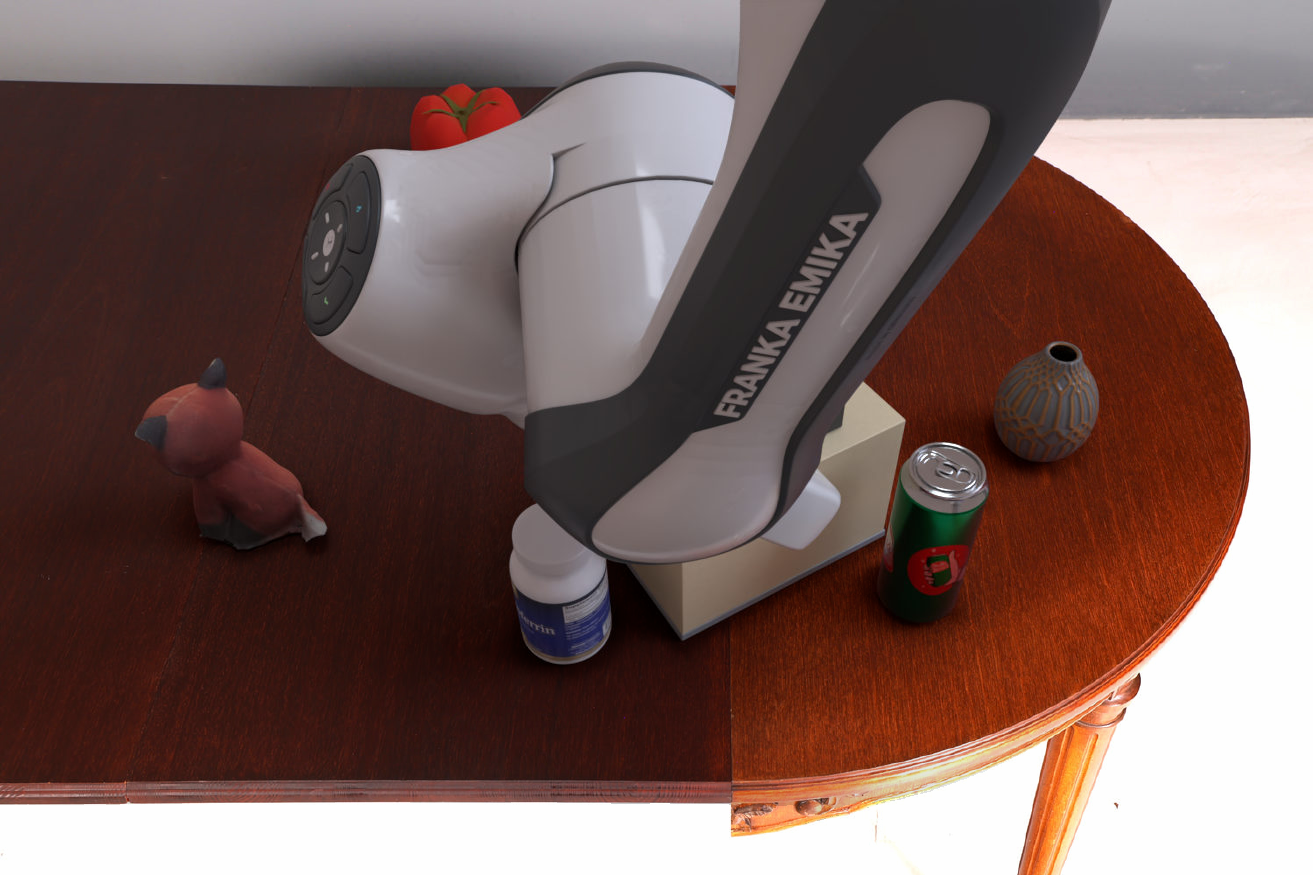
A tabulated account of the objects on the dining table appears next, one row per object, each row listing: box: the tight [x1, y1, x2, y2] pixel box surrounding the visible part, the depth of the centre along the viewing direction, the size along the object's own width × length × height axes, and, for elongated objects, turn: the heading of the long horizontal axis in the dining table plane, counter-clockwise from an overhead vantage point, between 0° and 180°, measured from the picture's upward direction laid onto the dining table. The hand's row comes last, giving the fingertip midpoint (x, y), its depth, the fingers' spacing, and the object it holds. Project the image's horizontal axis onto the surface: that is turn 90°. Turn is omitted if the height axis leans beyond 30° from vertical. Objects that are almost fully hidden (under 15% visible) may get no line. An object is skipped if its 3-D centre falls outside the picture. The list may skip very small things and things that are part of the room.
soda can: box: [876, 441, 990, 624], centre depth 63 cm, size 5×5×12 cm
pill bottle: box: [509, 503, 612, 665], centre depth 63 cm, size 6×6×10 cm
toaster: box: [626, 381, 906, 642], centre depth 68 cm, size 11×16×11 cm
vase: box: [993, 340, 1100, 463], centre depth 74 cm, size 7×7×9 cm
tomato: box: [409, 82, 522, 151], centre depth 101 cm, size 11×12×9 cm
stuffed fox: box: [134, 357, 328, 550], centre depth 69 cm, size 8×11×12 cm
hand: (766, 430), depth 61 cm, fingers closed
